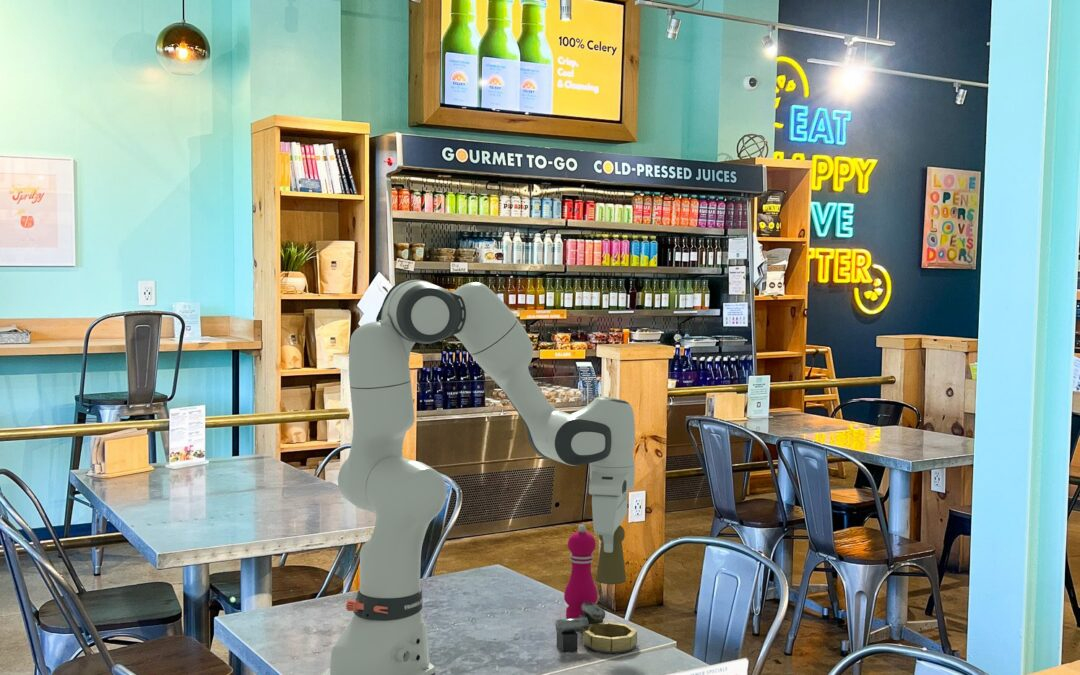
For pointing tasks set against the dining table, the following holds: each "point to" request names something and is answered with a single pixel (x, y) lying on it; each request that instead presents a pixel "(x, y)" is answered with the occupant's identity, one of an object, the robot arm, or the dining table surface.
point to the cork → (612, 561)
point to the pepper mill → (580, 573)
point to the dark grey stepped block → (570, 633)
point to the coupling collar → (610, 638)
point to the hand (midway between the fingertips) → (611, 548)
